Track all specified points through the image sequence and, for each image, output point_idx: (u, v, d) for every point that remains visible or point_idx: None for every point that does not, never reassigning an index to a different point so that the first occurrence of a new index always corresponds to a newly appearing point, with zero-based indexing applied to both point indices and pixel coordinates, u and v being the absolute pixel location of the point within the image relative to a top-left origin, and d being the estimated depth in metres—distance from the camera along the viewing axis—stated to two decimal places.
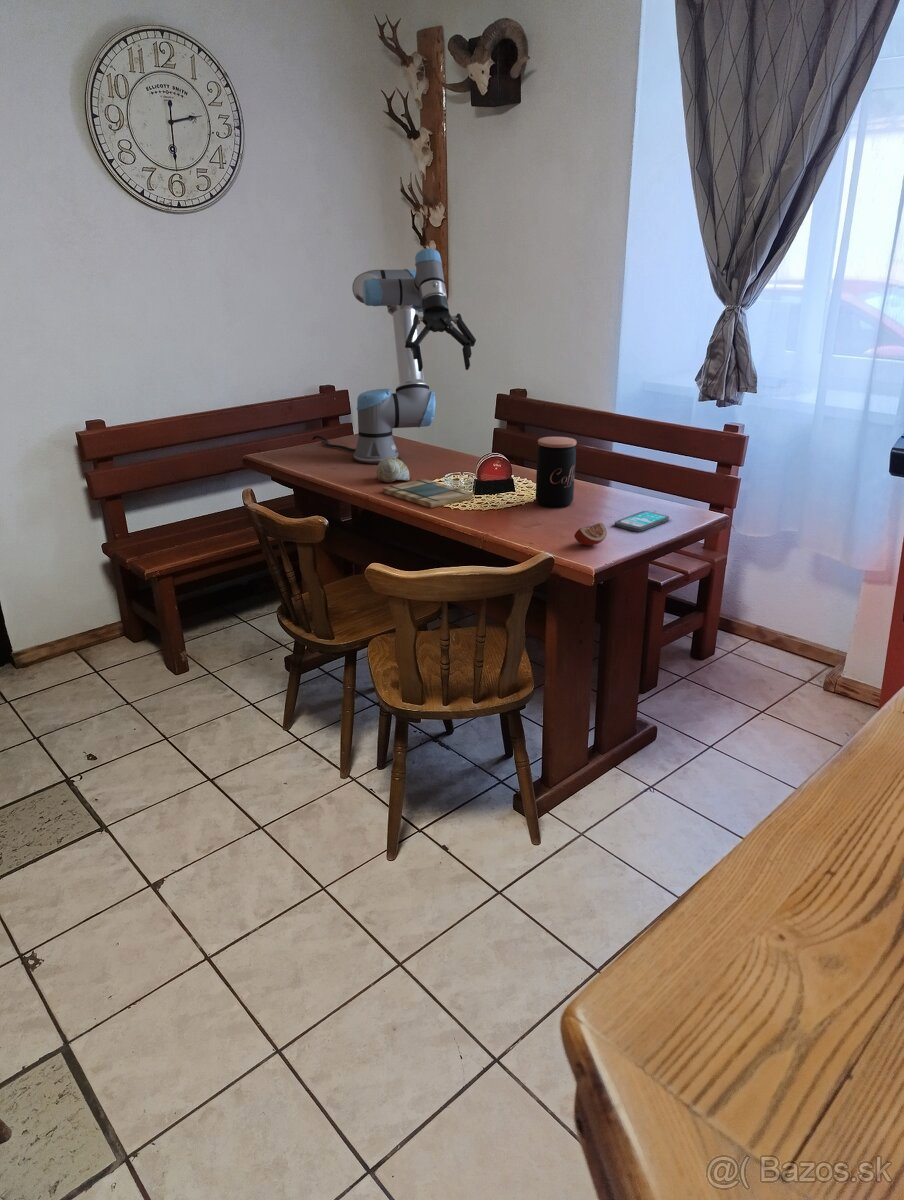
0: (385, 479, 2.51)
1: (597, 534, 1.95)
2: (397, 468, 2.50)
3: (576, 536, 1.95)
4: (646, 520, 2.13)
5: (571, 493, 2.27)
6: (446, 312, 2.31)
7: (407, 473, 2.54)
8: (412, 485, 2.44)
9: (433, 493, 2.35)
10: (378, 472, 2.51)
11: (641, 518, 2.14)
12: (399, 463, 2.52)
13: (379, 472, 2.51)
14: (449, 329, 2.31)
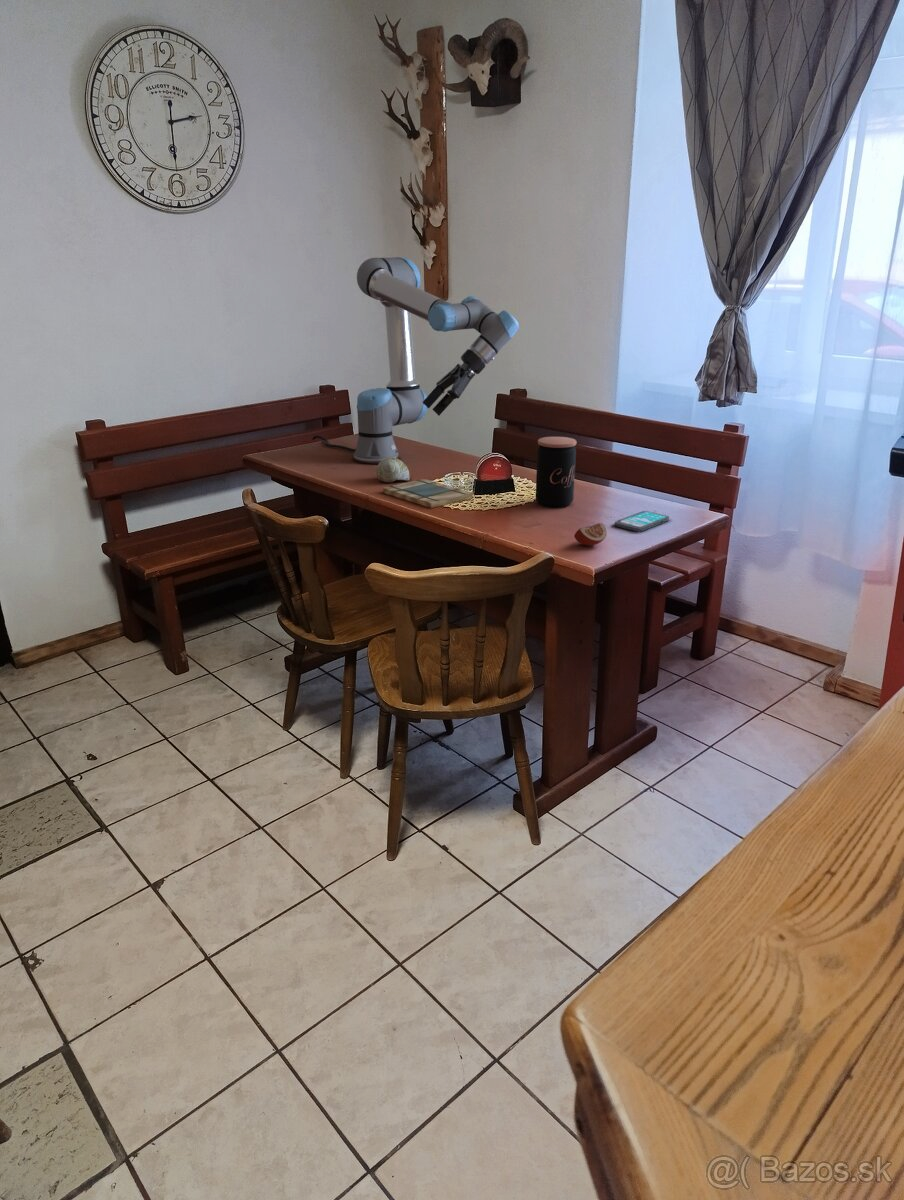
0: (385, 479, 2.51)
1: (597, 534, 1.95)
2: (397, 468, 2.50)
3: (576, 536, 1.95)
4: (646, 520, 2.13)
5: (571, 493, 2.27)
6: None
7: (407, 473, 2.54)
8: (412, 485, 2.44)
9: (433, 493, 2.35)
10: (378, 472, 2.51)
11: (641, 518, 2.14)
12: (399, 463, 2.52)
13: (379, 472, 2.51)
14: (455, 379, 2.51)
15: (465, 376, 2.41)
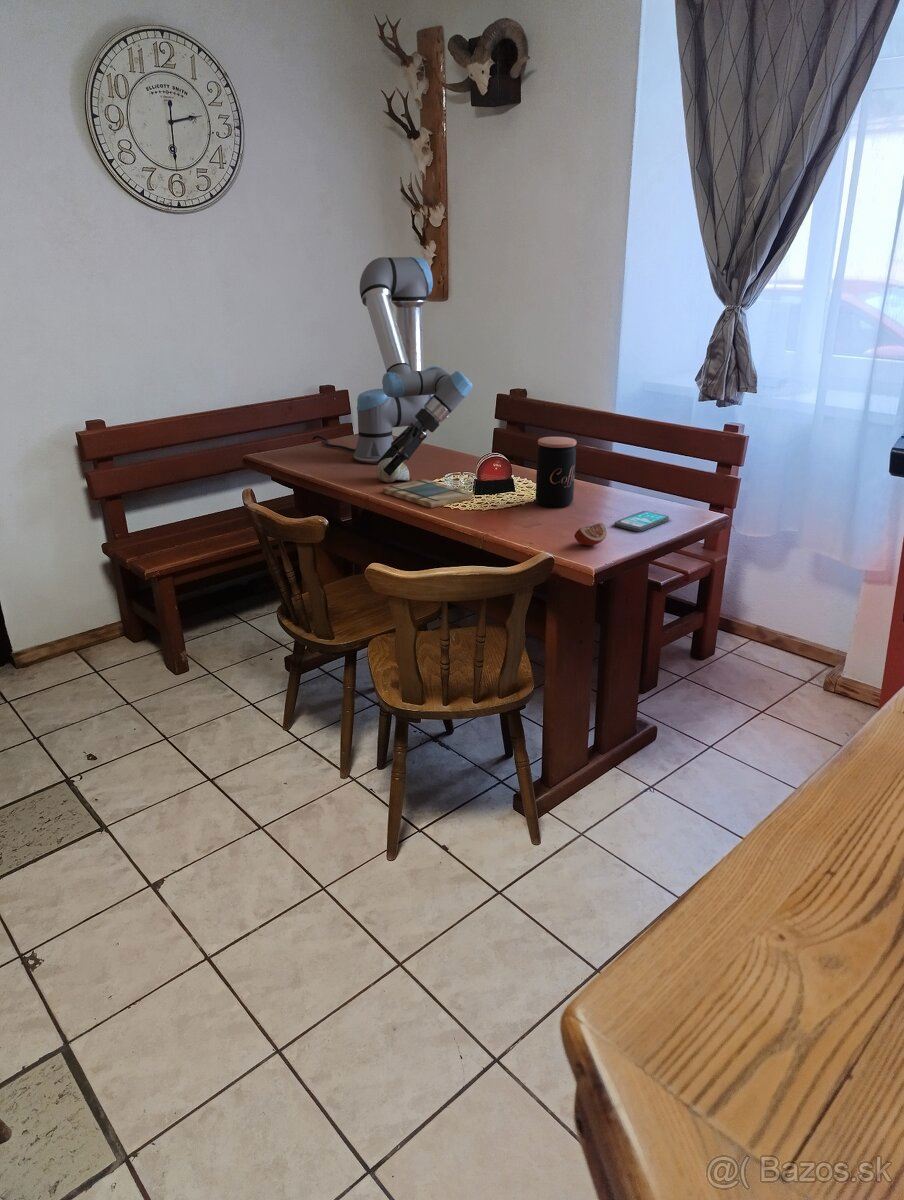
0: (385, 479, 2.51)
1: (597, 534, 1.95)
2: (397, 468, 2.50)
3: (576, 536, 1.95)
4: (646, 520, 2.13)
5: (571, 493, 2.27)
6: None
7: (407, 473, 2.54)
8: (412, 485, 2.44)
9: (433, 493, 2.35)
10: (377, 472, 2.52)
11: (641, 518, 2.14)
12: None
13: (379, 472, 2.51)
14: None
15: (416, 438, 2.45)
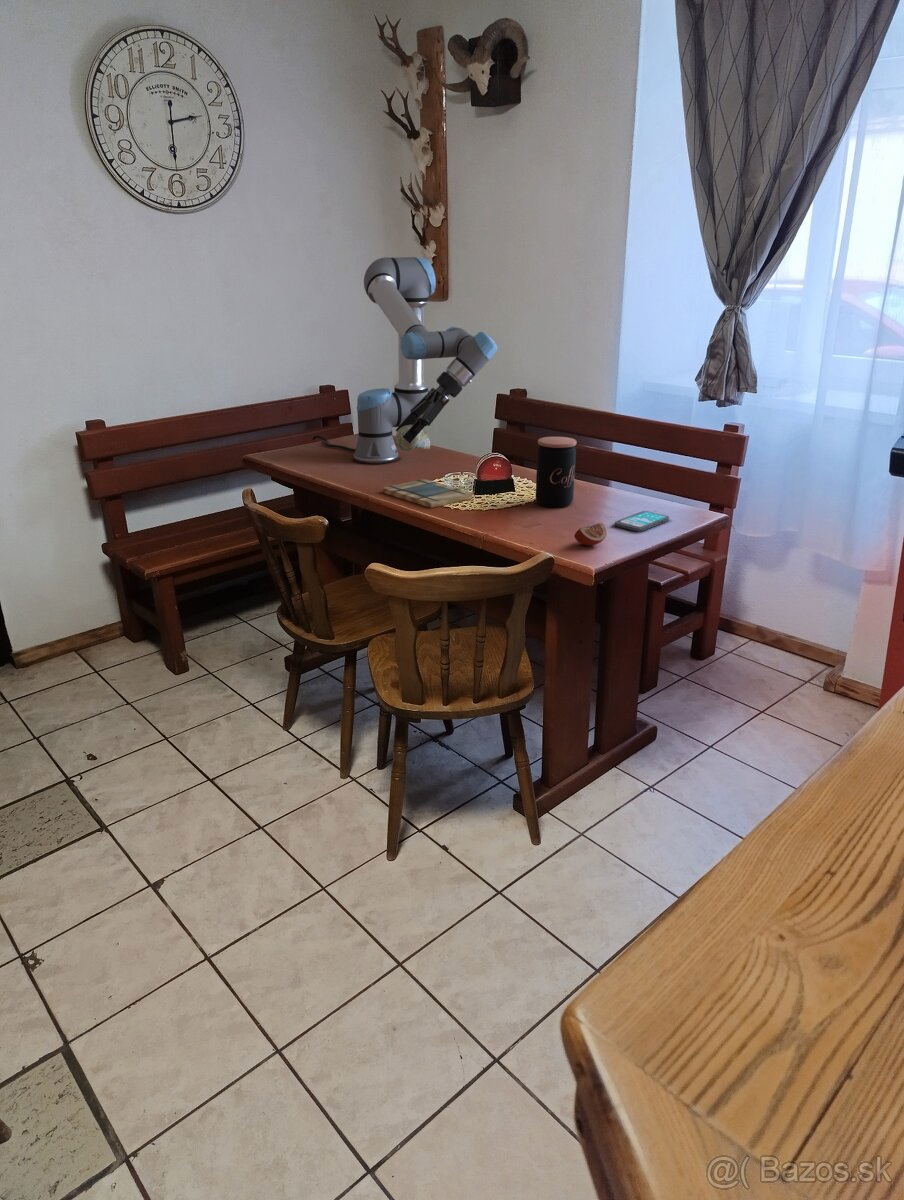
0: (404, 447, 2.36)
1: (597, 534, 1.95)
2: (417, 435, 2.36)
3: (576, 536, 1.95)
4: (646, 520, 2.13)
5: (571, 493, 2.27)
6: None
7: (427, 441, 2.40)
8: (412, 485, 2.44)
9: (433, 493, 2.35)
10: (396, 440, 2.37)
11: (641, 518, 2.14)
12: None
13: (398, 439, 2.37)
14: None
15: (438, 402, 2.31)
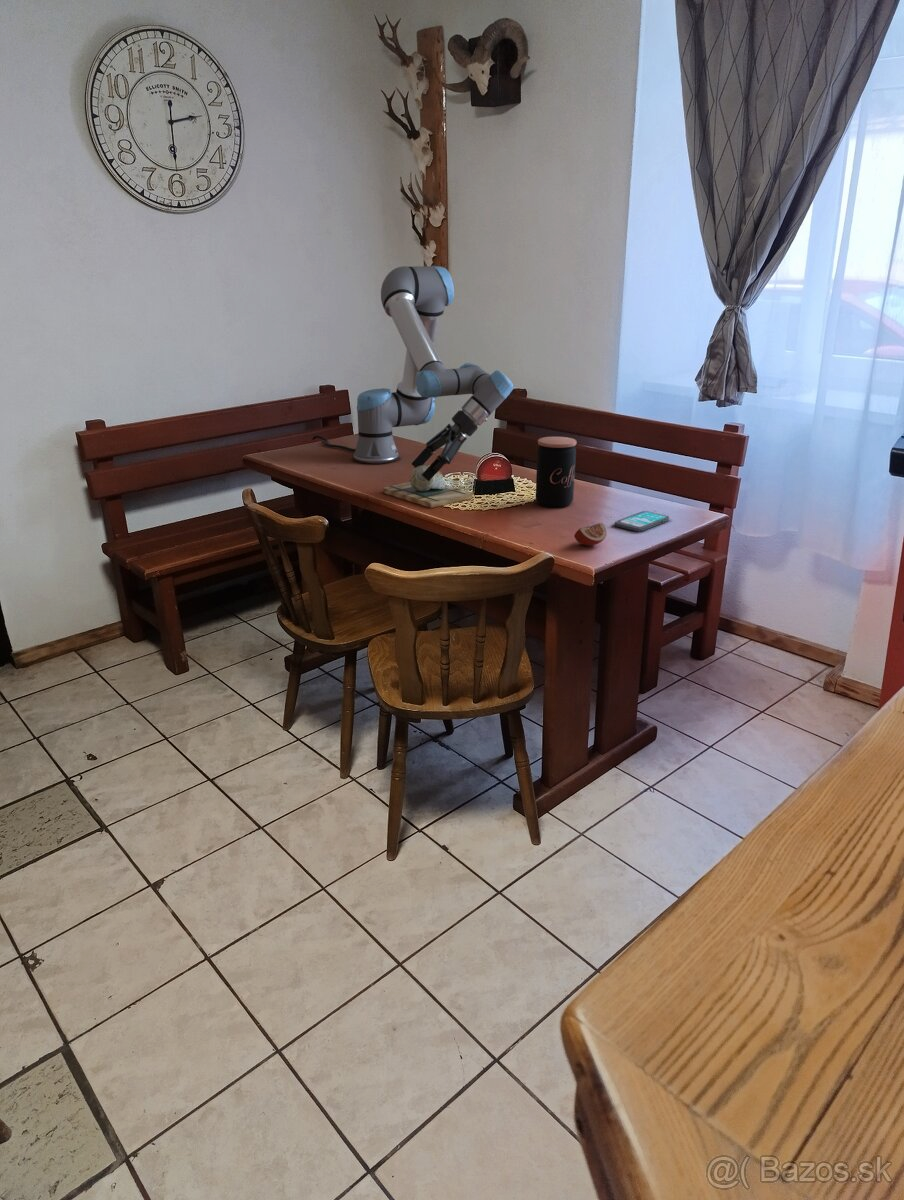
0: (419, 488, 2.35)
1: (597, 534, 1.95)
2: None
3: (576, 536, 1.95)
4: (646, 520, 2.13)
5: (571, 493, 2.27)
6: None
7: (442, 481, 2.38)
8: None
9: (433, 493, 2.35)
10: (411, 480, 2.35)
11: (641, 518, 2.14)
12: None
13: (413, 480, 2.35)
14: (445, 441, 2.38)
15: (456, 440, 2.28)
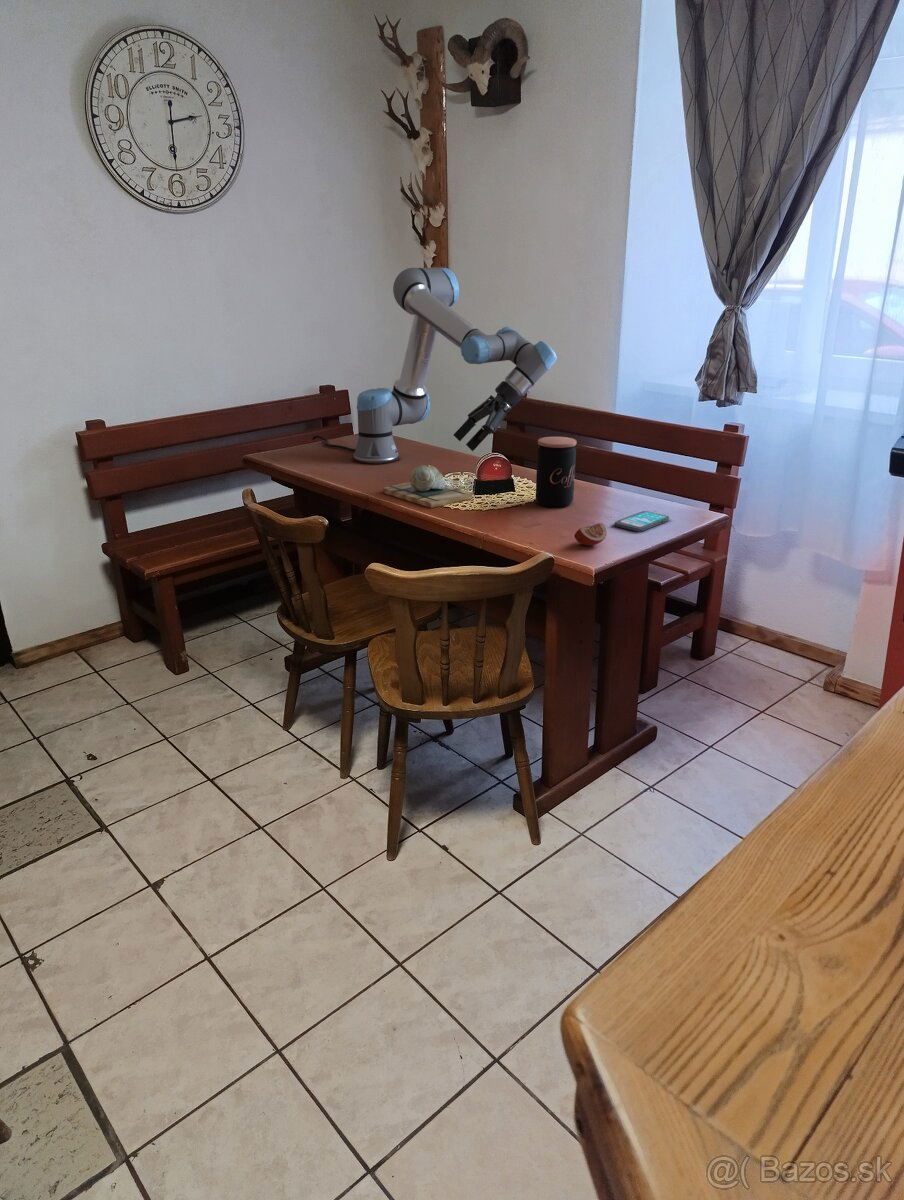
0: (419, 488, 2.35)
1: (597, 534, 1.95)
2: (432, 476, 2.34)
3: (576, 536, 1.95)
4: (646, 520, 2.13)
5: (571, 493, 2.27)
6: None
7: (442, 481, 2.38)
8: None
9: (433, 493, 2.35)
10: (411, 480, 2.35)
11: (641, 518, 2.14)
12: (434, 471, 2.36)
13: (413, 480, 2.35)
14: (488, 412, 2.40)
15: (501, 410, 2.30)
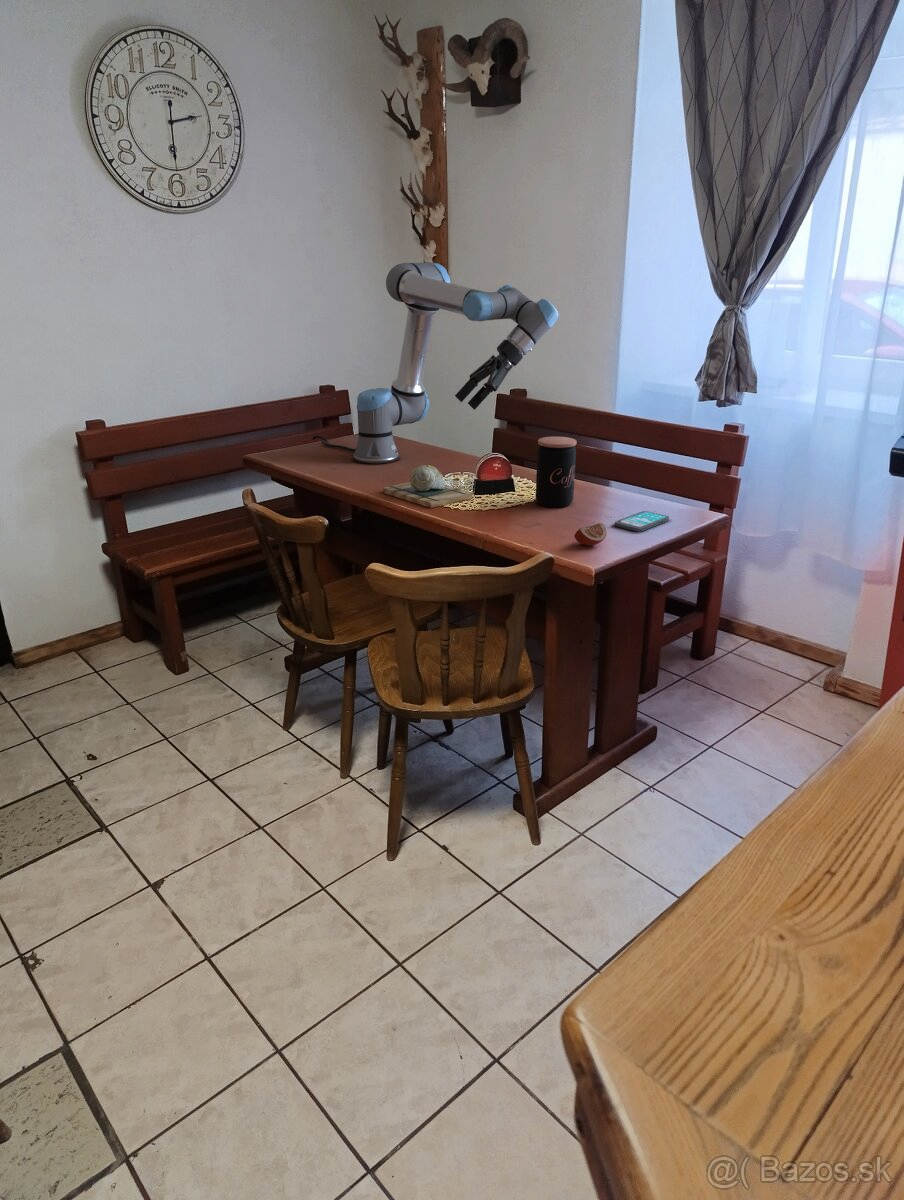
0: (419, 488, 2.35)
1: (597, 534, 1.95)
2: (432, 476, 2.34)
3: (576, 536, 1.95)
4: (646, 520, 2.13)
5: (571, 493, 2.27)
6: None
7: (442, 481, 2.38)
8: None
9: (433, 493, 2.35)
10: (411, 480, 2.35)
11: (641, 518, 2.14)
12: (434, 471, 2.36)
13: (413, 480, 2.35)
14: (490, 372, 2.38)
15: (502, 368, 2.28)
